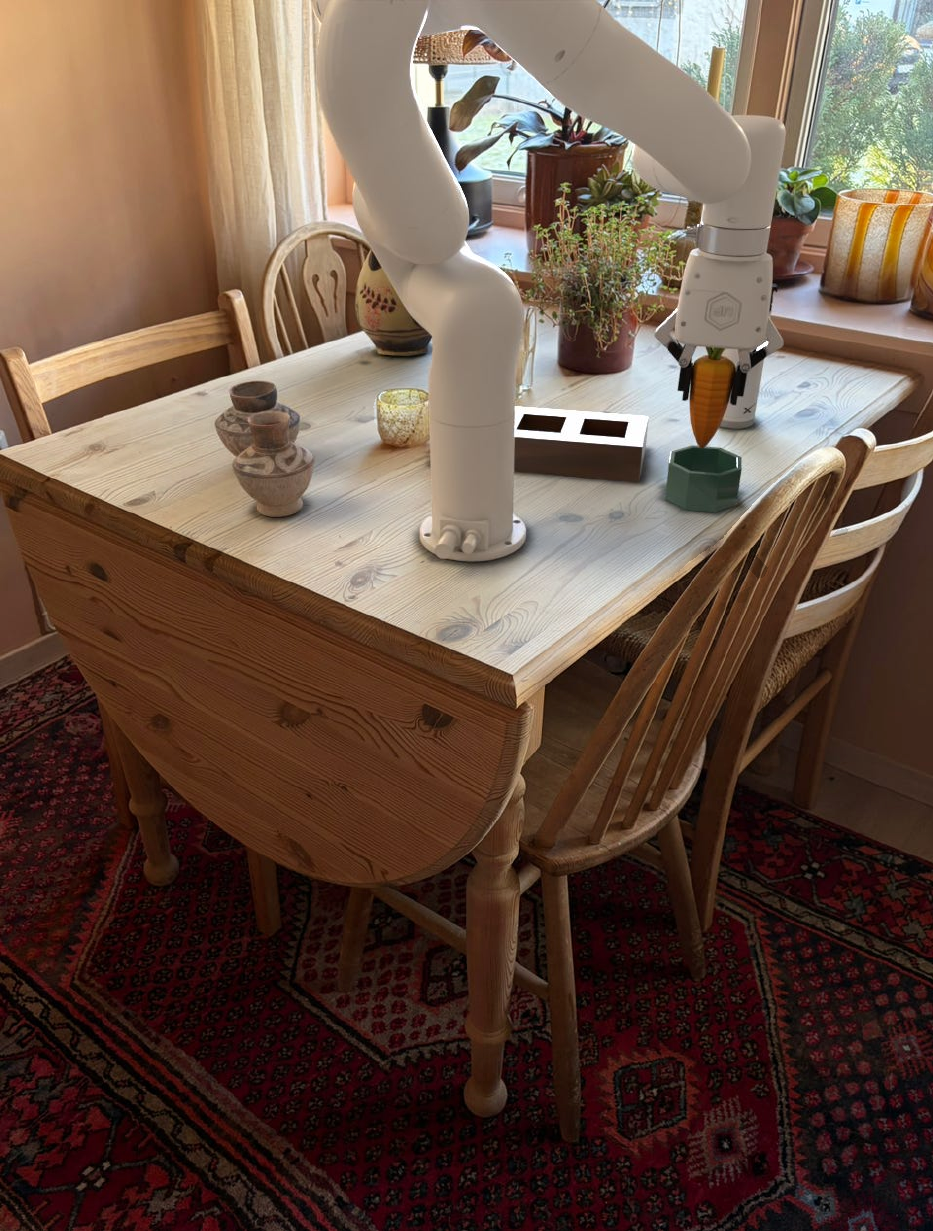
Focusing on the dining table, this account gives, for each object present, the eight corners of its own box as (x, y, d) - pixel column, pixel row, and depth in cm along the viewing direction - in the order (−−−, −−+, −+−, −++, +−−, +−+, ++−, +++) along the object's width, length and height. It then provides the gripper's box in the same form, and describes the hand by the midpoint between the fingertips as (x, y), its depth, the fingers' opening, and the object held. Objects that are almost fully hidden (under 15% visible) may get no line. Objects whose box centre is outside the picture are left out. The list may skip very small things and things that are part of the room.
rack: (639, 482, 130) (642, 446, 127) (432, 464, 135) (431, 430, 132) (645, 450, 139) (648, 416, 136) (451, 434, 144) (451, 401, 141)
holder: (736, 514, 122) (741, 477, 119) (663, 508, 123) (667, 471, 121) (736, 484, 129) (741, 449, 126) (667, 479, 130) (671, 443, 128)
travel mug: (757, 431, 144) (779, 291, 134) (711, 427, 145) (729, 289, 135) (755, 415, 149) (776, 280, 139) (710, 412, 151) (728, 277, 140)
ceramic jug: (408, 331, 187) (402, 159, 171) (461, 350, 177) (458, 169, 161) (333, 350, 178) (319, 170, 162) (384, 371, 168) (374, 181, 152)
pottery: (241, 532, 119) (227, 438, 112) (216, 454, 139) (203, 371, 132) (333, 517, 122) (325, 425, 115) (296, 443, 142) (287, 361, 135)
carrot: (680, 453, 121) (697, 330, 113) (682, 438, 125) (699, 319, 117) (721, 457, 120) (742, 334, 112) (722, 442, 124) (742, 322, 116)
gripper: (652, 243, 108) (635, 403, 117) (815, 253, 105) (783, 417, 114) (657, 230, 114) (640, 383, 124) (810, 239, 111) (780, 395, 120)
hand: (709, 397), depth 119 cm, fingers closed on carrot, 5 cm apart
